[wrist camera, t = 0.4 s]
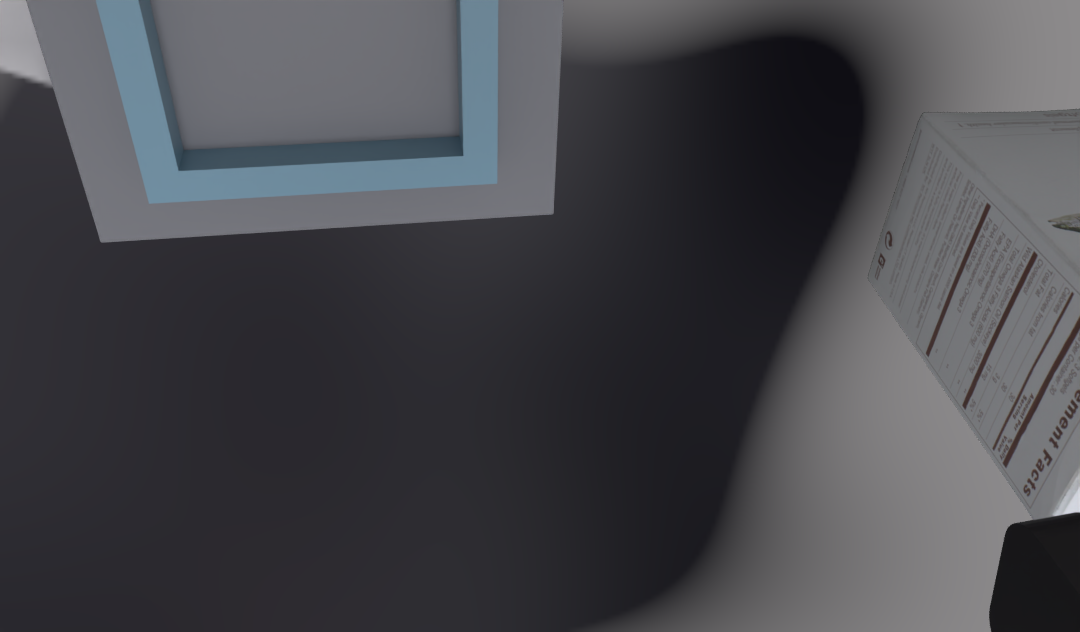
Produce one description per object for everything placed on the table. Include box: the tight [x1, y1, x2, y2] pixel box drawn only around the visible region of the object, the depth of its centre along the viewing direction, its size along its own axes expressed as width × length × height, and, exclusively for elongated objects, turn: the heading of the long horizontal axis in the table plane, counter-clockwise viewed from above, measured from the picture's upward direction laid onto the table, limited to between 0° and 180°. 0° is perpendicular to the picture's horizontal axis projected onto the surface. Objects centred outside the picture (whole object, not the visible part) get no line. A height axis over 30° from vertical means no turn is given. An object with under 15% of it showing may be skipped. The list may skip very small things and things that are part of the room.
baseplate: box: [26, 0, 564, 242], centre depth 26 cm, size 14×14×2 cm
